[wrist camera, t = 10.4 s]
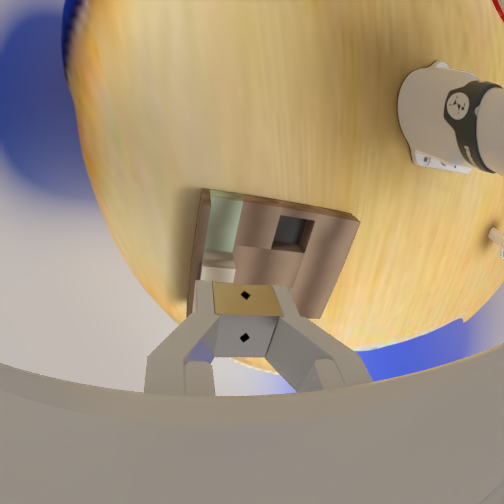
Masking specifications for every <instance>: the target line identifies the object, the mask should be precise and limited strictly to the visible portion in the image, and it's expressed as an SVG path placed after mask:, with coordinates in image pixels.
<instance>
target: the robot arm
mask: <svg viewBox="0 0 504 504" xmlns="http://www.w3.org/2000/svg"><path fill="white" fill-rule="evenodd" d="M398 117H399V122H400V126H401V129H402V132H403V134H404V136H405V138H406V139H407V141H408V143H409V145H410V149H411V156H412V160H413V163H414V164H415V165H418V166H423V167H429V168H436V169H442V170H447V171H453V172H458V173H464V174H468V173H469V172H470V171H471V170H472V168H473V169H478V170H482V171H485V172H489V173H498V174H500V175H502V176H504V89H503V88H502V87H501V86H499V85H497V84H493V83H491V82H488V81H479V80H478V78H477V77H475V74H473V73H471V72H466V71H461V70H456V69H450V67H449V66H448V65H447V64H446V63H445V62H442V61H436V62H435V63H433V64H432V65H431V66H430V67H428V68H421V69H417V70H415V71H413V72H412V73H410V74H409V75H408V76H407V78H406V79H405V81H404V82H403V84H402V86H401V89H400V92H399V97H398ZM424 158H425V160H424ZM214 357H266V358H265V359H266V360H267V361H268V362H269V363H270V364H271V365H272V366H273V367H274V369H275V370H276V371H277V372H278V373H279V374H280V375H281V376H282V377H283V378H284V379H285V380H286V381H287V382H288V383H289V384H290V385H291V386H292V387H293V388H294V389H295V390H296V391H297V393H290V394H276V395H257V396H215V387H214V379H213V370H212V365H210V364H211V362H212V360H213V359H214ZM0 504H504V343H503V344H501V345H498V346H496V347H493V348H491V349H488V350H486V351H483V352H481V353H477V354H475V355H472V356H469V357H466V358H463V359H460V360H457V361H454V362H451V363H448V364H444V365H441V366H437V367H434V368H430V369H427V370H423V371H419V372H415V373H412V374H408V375H403V376H399V377H394V378H390V379H385V380H381V381H376V382H373V380H372V378H371V376H370V375H369V373H368V371H367V369H366V367H365V365H364V363H363V361H362V359H361V358H360V356H359V355H358V354H357V353H356V352H354V351H353V350H351V349H350V348H348V347H347V346H345V345H344V344H343V343H341V342H340V341H338V340H337V339H335V338H334V337H333V336H331V335H330V334H328V333H327V332H325V331H324V330H323V329H321V328H320V327H318V326H317V325H315V324H314V323H313V322H311V321H310V320H308V319H307V318H306V317H300V315H299V312H298V310H297V308H296V306H295V303H294V301H293V299H292V297H291V294H290V292H289V290H288V288H287V286H285V285H251V284H239V283H228V282H216V281H212V282H211V281H204V280H196V281H195V288H194V298H193V309H192V313H191V314H190V315H189V316H188V317H187V318H186V319H185V320H184V321H183V322H182V323H181V324H180V325H179V326H178V327H177V328H176V329H175V330H174V331H173V332H172V333H171V334H170V335H169V336H168V337H167V338H166V339H165V340H164V341H163V342H162V343H161V344H160V345H159V346H158V347H157V348H156V349H155V350H154V351H153V352H152V353H151V354H150V355H149V356H148V358H147V367H146V377H145V387H144V393H143V392H134V391H125V390H117V389H110V388H103V387H97V386H91V385H86V384H80V383H74V382H70V381H65V380H61V379H56V378H52V377H47V376H43V375H39V374H36V373H32V372H28V371H25V370H21V369H17V368H14V367H11V366H8V365H4V364H2V363H0Z"/></svg>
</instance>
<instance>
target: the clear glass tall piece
mask: <svg viewBox="0 0 504 504" xmlns="http://www.w3.org/2000/svg"><path fill="white" fill-rule="evenodd" d="M488 237H489V239H491V240H492V241H493V242H495V243H496V244H497V245H499V246H500V248H499V256H500V257H501V258H502V259H503V260H504V234H503V233H501V232H500V231H499V230H497V229H496V228H495V227H493V228H492V229H491V230H490V232H489V235H488Z"/></svg>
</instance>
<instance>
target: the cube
mask: <svg viewBox="0 0 504 504" xmlns="http://www.w3.org/2000/svg"><path fill="white" fill-rule="evenodd" d="M235 271H236V268H235V263H234V258H233V253H232V252H222V251H213V250H204V254H203V260H202V267H201V274H200V280H204V281H211V282H212V281H216V282H228V283H233V280H234V276H235Z"/></svg>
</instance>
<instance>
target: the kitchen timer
mask: <svg viewBox="0 0 504 504" xmlns="http://www.w3.org/2000/svg"><path fill="white" fill-rule="evenodd" d="M493 3H494V5H495V7H496V10H497V11H498V13H499V15H500V17H501V18H502V20H503V21H504V0H493Z"/></svg>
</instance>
